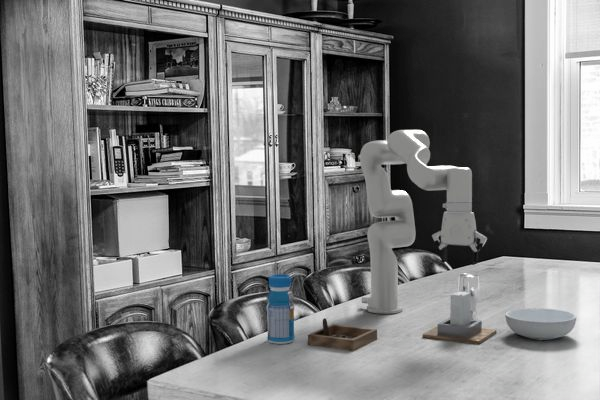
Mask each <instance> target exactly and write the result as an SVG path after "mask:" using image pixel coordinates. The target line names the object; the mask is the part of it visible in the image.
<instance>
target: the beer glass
mask: <svg viewBox="0 0 600 400" xmlns="http://www.w3.org/2000/svg"><path fill="white" fill-rule="evenodd" d="M479 277H480V276H479V274H477V273H460V274H458V281H457V282H458V283H457V285H458V286H457V292H470V293H471V320H479V316H478V309H477V308H478V302H479V295H480V278H479Z"/></svg>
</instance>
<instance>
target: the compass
mask: <svg viewBox="0 0 600 400" xmlns="http://www.w3.org/2000/svg"><path fill="white" fill-rule="evenodd" d="M327 319H328V317H327V318H322V328H323V331H324V335H325V336H329V330H328V326H329V324H328V321H327ZM331 337H339V338H347V339H350V337H348V336H345V335H333V336H331Z"/></svg>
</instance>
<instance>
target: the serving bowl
mask: <svg viewBox="0 0 600 400" xmlns="http://www.w3.org/2000/svg"><path fill="white" fill-rule="evenodd" d="M504 317H505V321H506V324H507V326H508V327H509V328H510V330H511V331H512V332H514V333H515V334H517V335H520V336H522V337H525V338H528V339H531V340H537V341H538V340H539V341H541V340H542V341H546V340H548V341H549V340H553V339H557V338H561V337H564V336H566V335H569V333H571V332H572V330H573V329H574V328H575V325H576V322H577V315H576V314H575V313H573V312H570V311H565V310H562V309H553V308H543V307H541V308H538V307H536V308H535V307H534V308H533V307H532V308H531V307H530V308H528V307H527V308H517V309H512V310H508V311H507V312H505V316H504Z"/></svg>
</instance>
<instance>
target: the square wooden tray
mask: <svg viewBox="0 0 600 400" xmlns="http://www.w3.org/2000/svg"><path fill="white" fill-rule="evenodd" d="M328 330H329V336H325V335H324V331H323V327H322V328H320V329H318V330H315V331H314V332H310V333H309V334H307V345H310V346H315V347H316V346H317V347H321V348H323V347H325V348H330V349H331V348H332V349H337V350H346V351H352V352H353V351H356V350H358V349H360V348H363V347H364V346H367V345H368V344H370V343H373V342H375V341H376V340H378V329H376V328H368V327H359V326H352V325H351V326H350V325H343V324H335V323H332V324H329V325H328ZM333 335H345V336H347V337H348V338H349V339H347V338H339V337H331V336H333Z"/></svg>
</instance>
